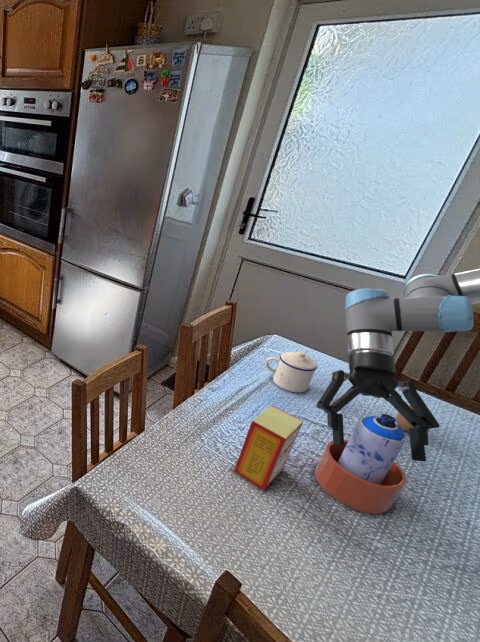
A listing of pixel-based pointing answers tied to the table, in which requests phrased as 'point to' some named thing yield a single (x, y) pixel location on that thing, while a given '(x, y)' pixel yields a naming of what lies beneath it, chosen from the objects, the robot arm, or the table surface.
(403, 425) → the egg
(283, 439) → the baking soda box
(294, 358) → the teacup with lid
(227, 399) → the table surface
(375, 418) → the aerosol can
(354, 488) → the terracotta bowl
